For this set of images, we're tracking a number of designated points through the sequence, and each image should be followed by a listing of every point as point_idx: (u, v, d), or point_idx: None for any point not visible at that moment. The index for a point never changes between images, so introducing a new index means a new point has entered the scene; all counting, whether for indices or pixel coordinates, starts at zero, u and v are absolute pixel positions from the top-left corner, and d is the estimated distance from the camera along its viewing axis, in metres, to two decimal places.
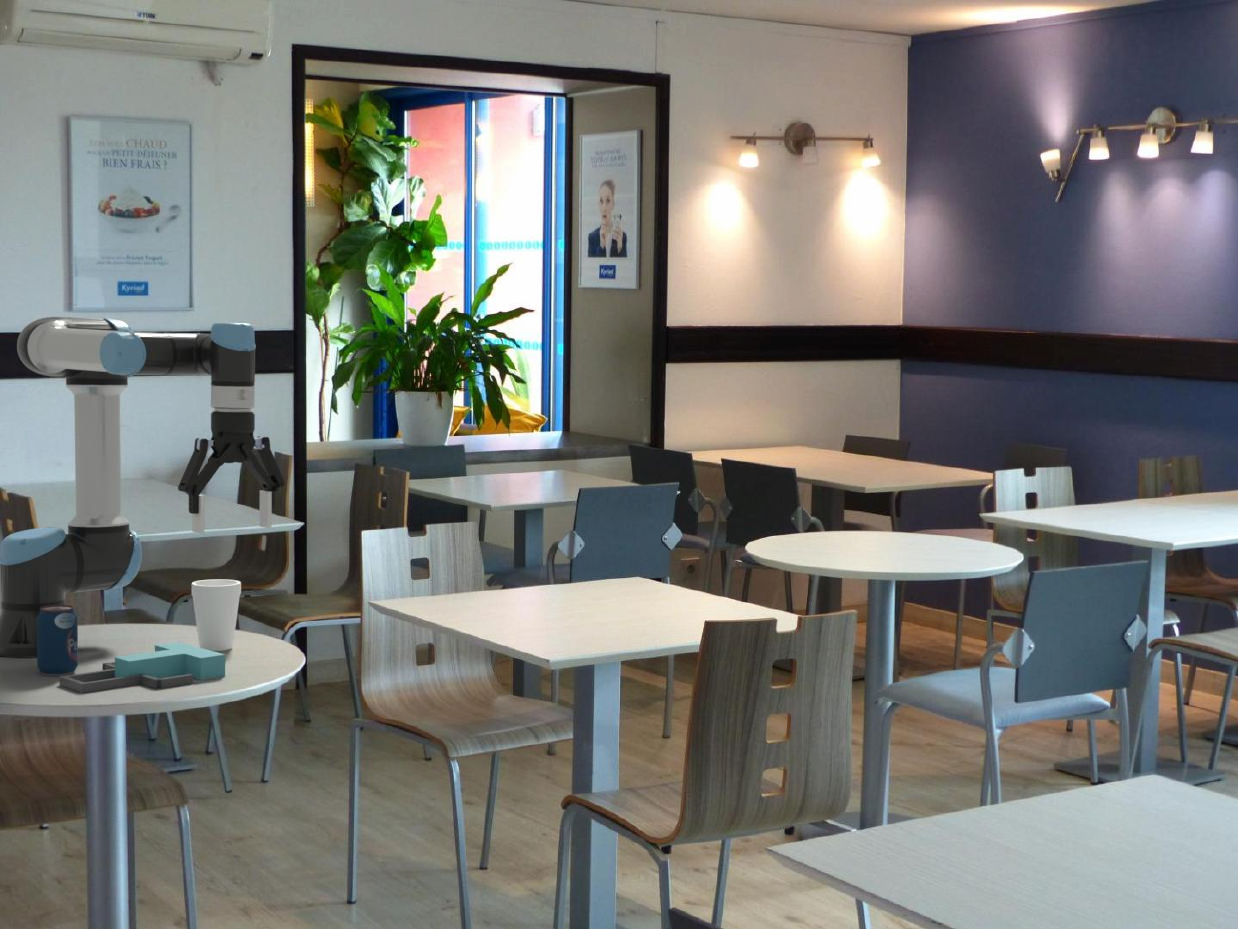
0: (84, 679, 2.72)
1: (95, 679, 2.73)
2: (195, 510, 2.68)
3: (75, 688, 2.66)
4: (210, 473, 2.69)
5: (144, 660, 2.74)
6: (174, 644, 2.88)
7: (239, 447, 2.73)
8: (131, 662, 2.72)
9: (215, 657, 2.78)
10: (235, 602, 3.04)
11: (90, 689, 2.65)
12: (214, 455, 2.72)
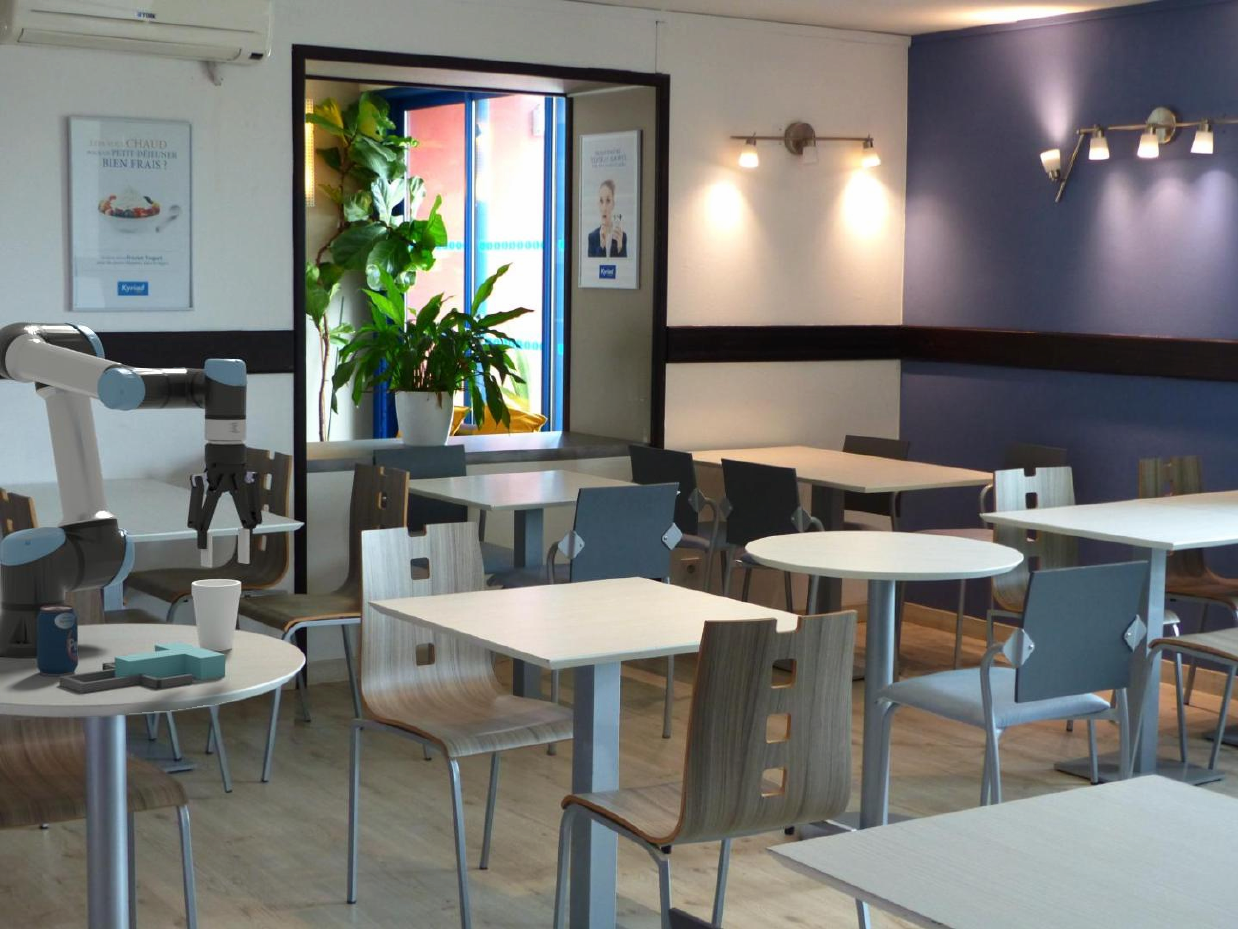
0: (84, 679, 2.72)
1: (95, 679, 2.73)
2: (203, 546, 2.83)
3: (75, 688, 2.66)
4: (212, 507, 2.83)
5: (144, 660, 2.74)
6: (174, 644, 2.88)
7: (232, 476, 2.86)
8: (131, 662, 2.72)
9: (215, 657, 2.78)
10: (235, 602, 3.04)
11: (90, 689, 2.65)
12: (210, 487, 2.86)
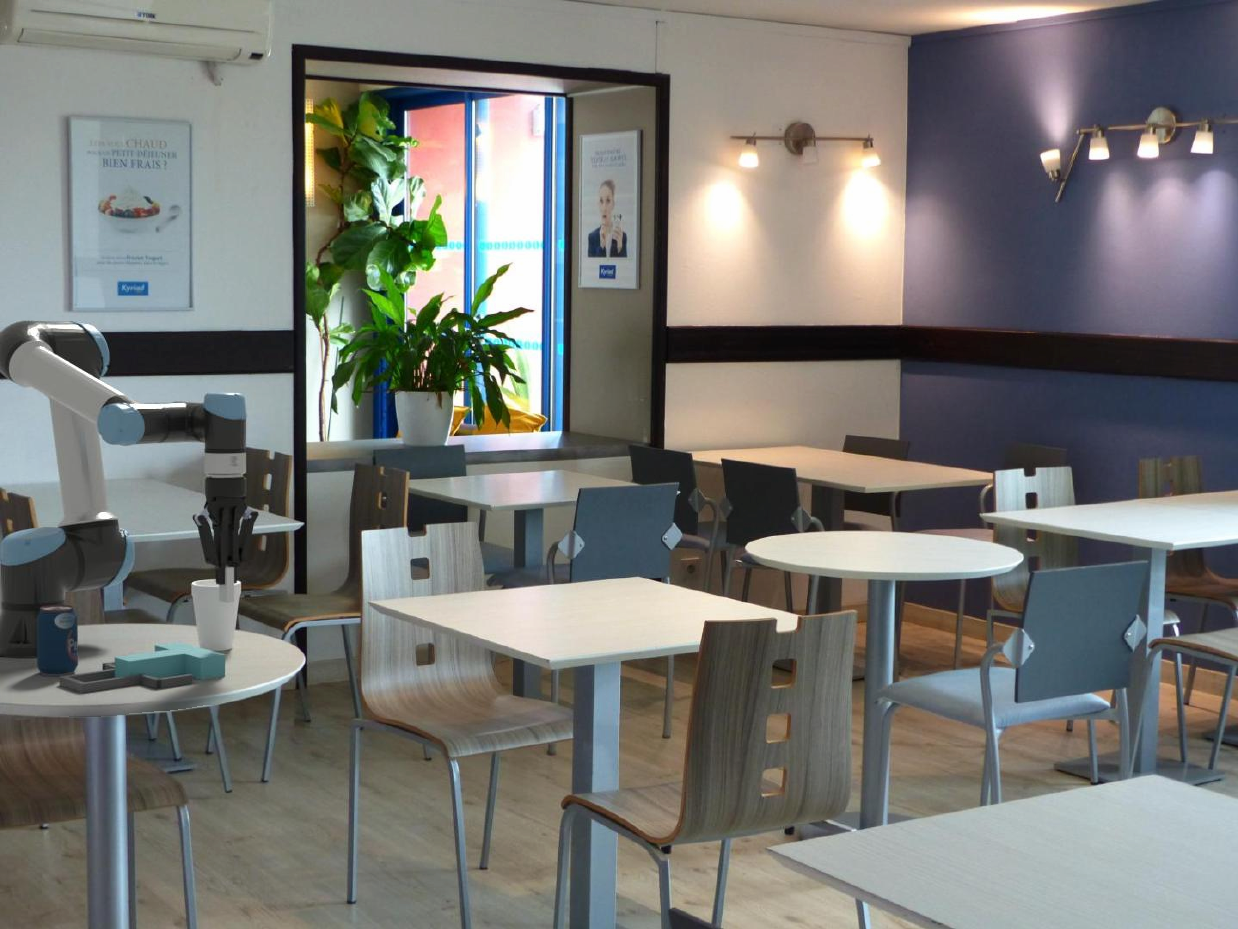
0: (84, 679, 2.72)
1: (95, 679, 2.73)
2: (222, 581, 2.86)
3: (75, 688, 2.66)
4: (223, 543, 2.85)
5: (144, 660, 2.74)
6: (174, 644, 2.88)
7: (232, 509, 2.86)
8: (131, 662, 2.72)
9: (215, 657, 2.78)
10: (235, 602, 3.04)
11: (90, 689, 2.65)
12: None
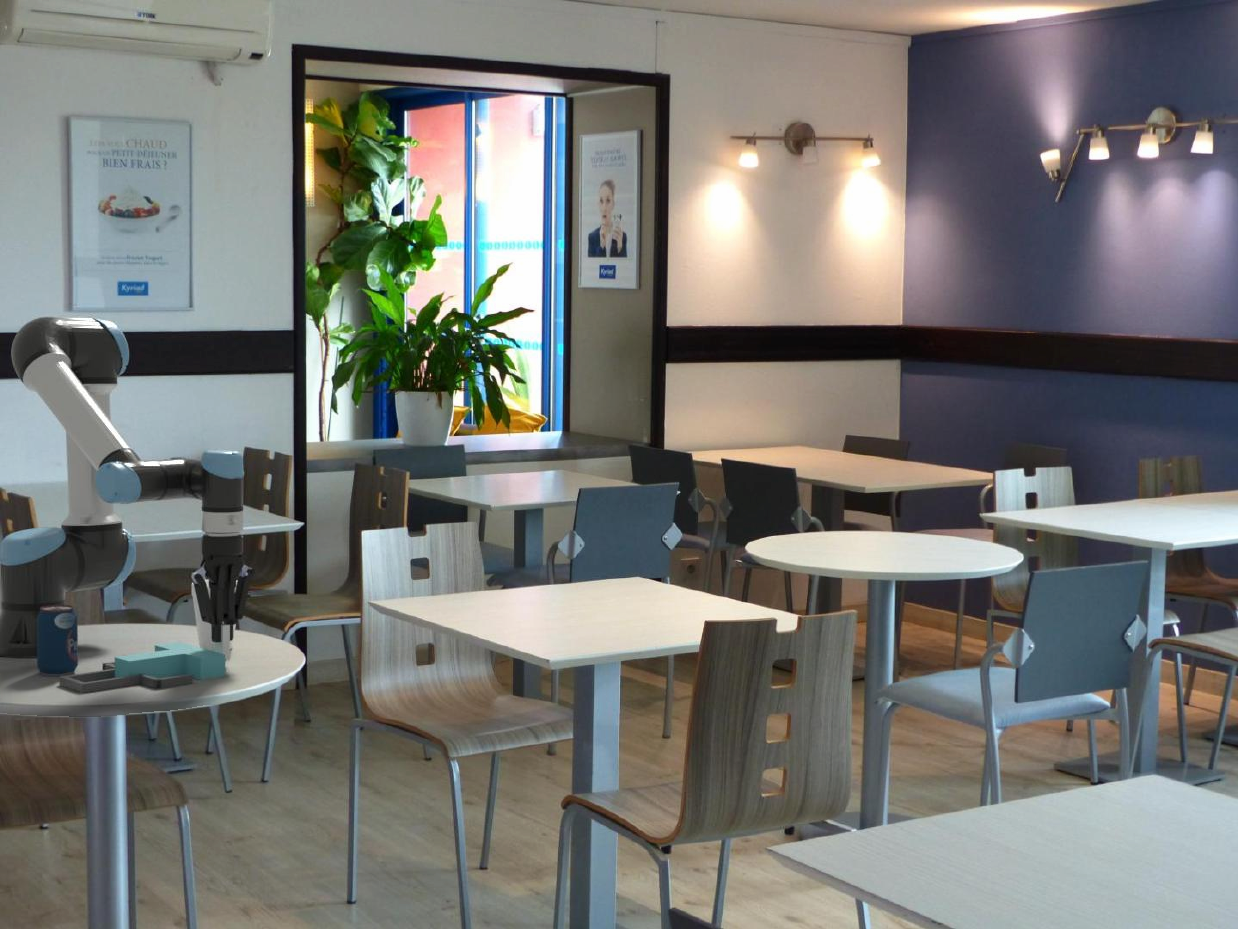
0: (84, 679, 2.72)
1: (95, 679, 2.73)
2: (217, 639, 2.87)
3: (75, 688, 2.66)
4: (219, 601, 2.86)
5: (144, 660, 2.74)
6: (174, 644, 2.88)
7: (229, 567, 2.87)
8: (131, 662, 2.72)
9: (215, 657, 2.78)
10: None
11: (90, 689, 2.65)
12: None
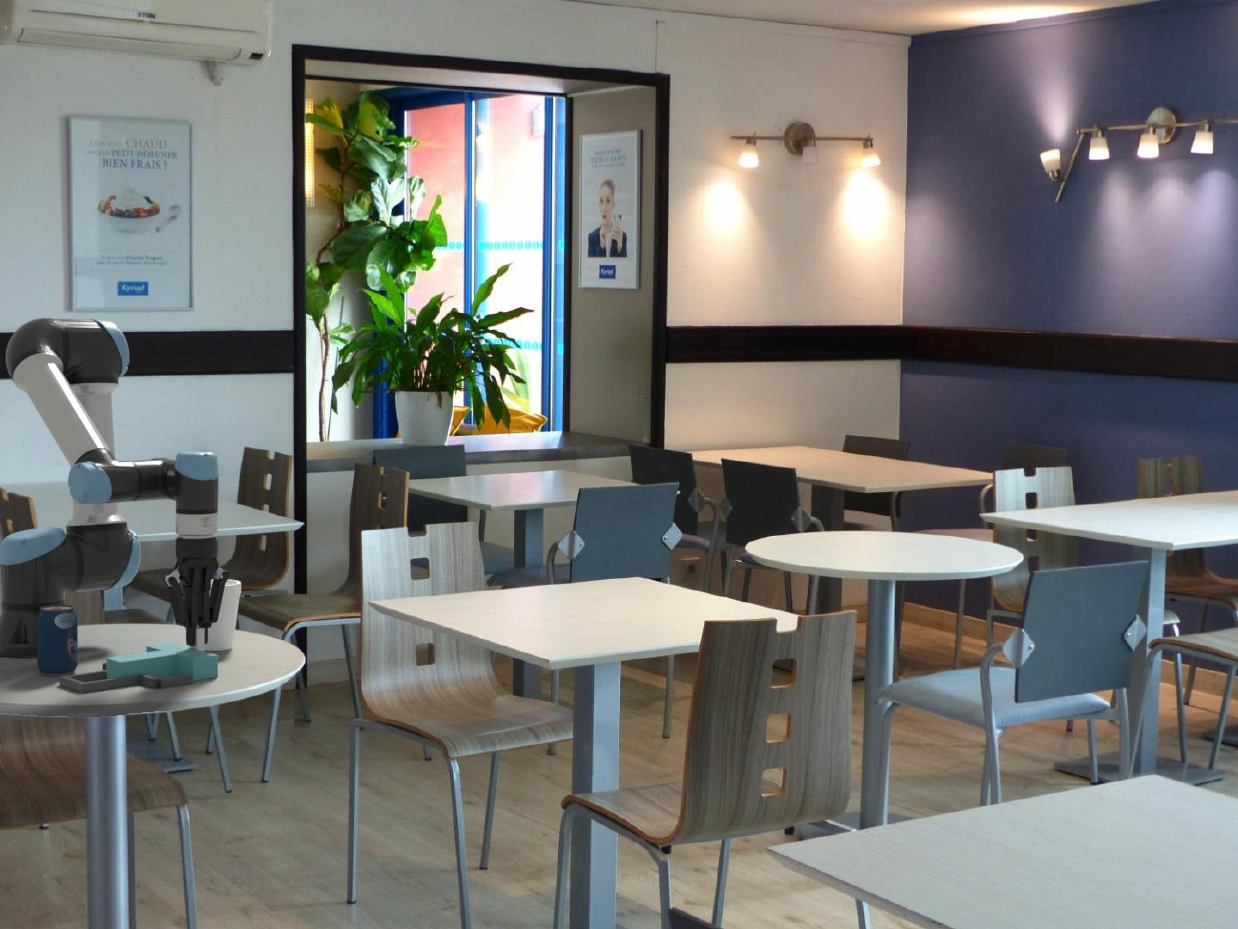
0: (84, 679, 2.72)
1: (95, 679, 2.73)
2: (192, 643, 2.83)
3: (75, 688, 2.66)
4: (194, 604, 2.82)
5: (136, 661, 2.73)
6: (166, 645, 2.87)
7: (203, 569, 2.83)
8: (123, 663, 2.71)
9: (208, 658, 2.77)
10: (235, 602, 3.04)
11: (90, 689, 2.65)
12: None
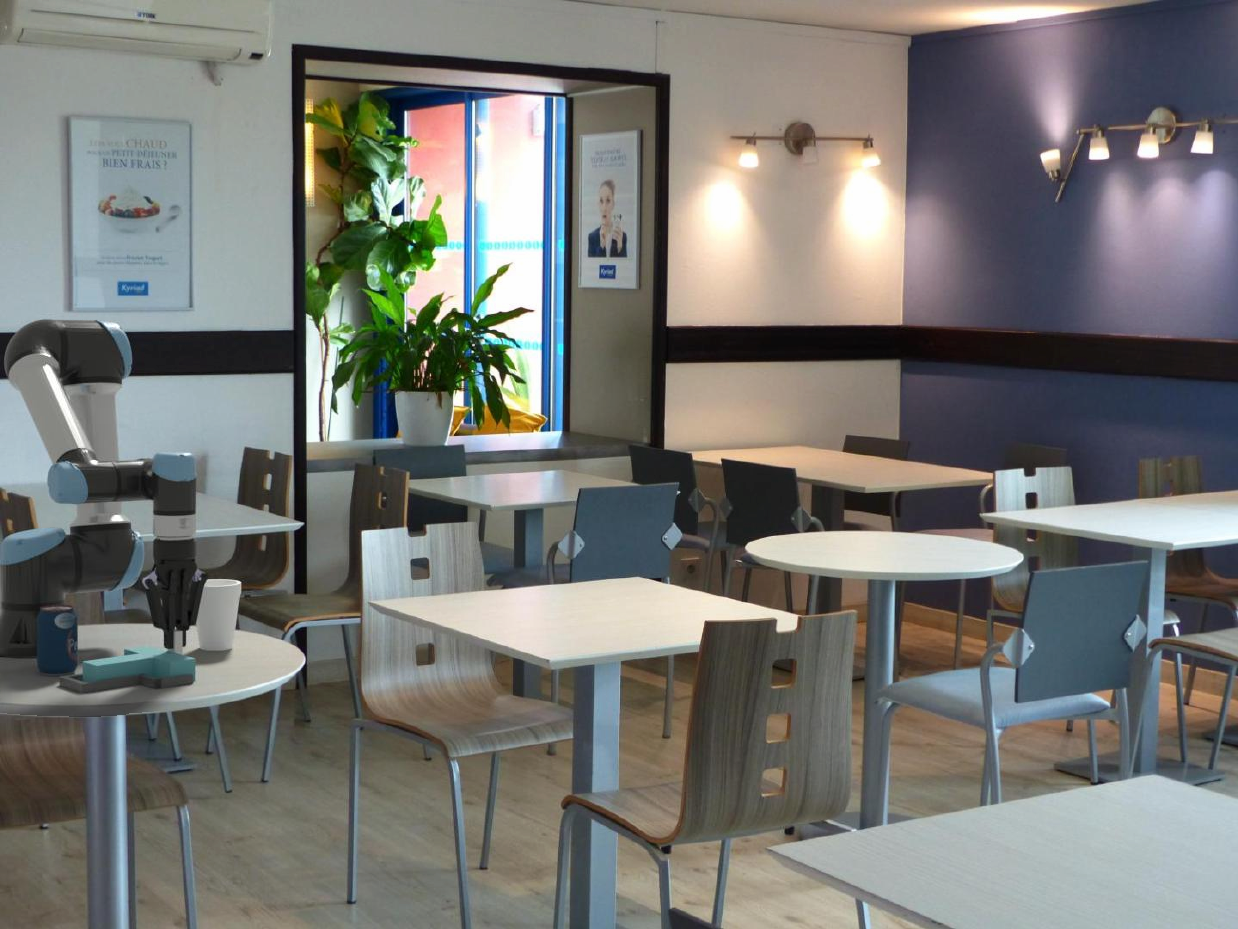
0: None
1: None
2: (170, 645, 2.80)
3: (75, 688, 2.66)
4: (171, 606, 2.79)
5: (112, 664, 2.69)
6: (144, 648, 2.83)
7: (181, 571, 2.80)
8: (99, 666, 2.68)
9: (185, 661, 2.74)
10: (235, 602, 3.04)
11: (90, 689, 2.65)
12: None
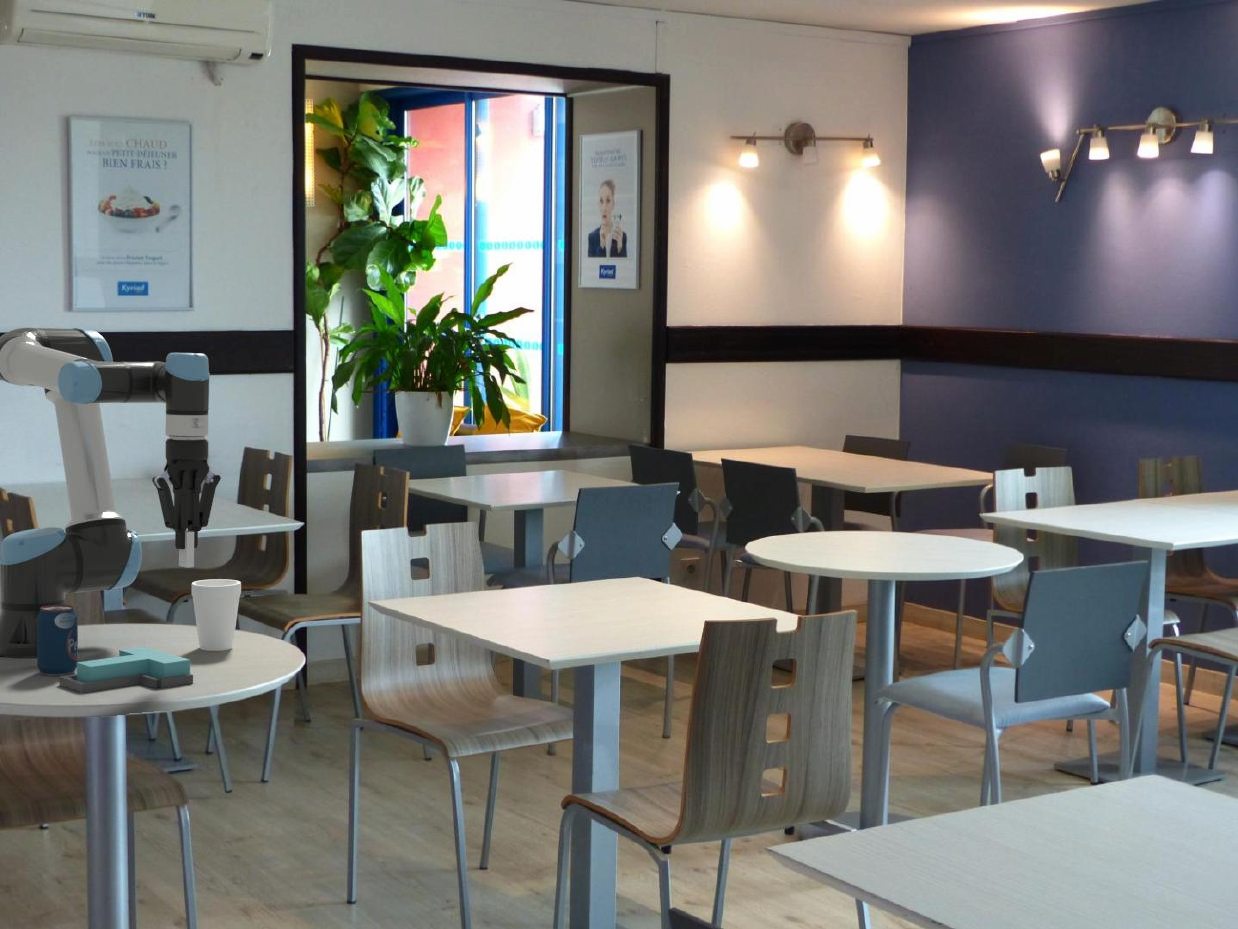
0: None
1: None
2: (181, 546, 2.80)
3: (75, 688, 2.66)
4: (183, 506, 2.79)
5: (107, 665, 2.69)
6: (139, 649, 2.83)
7: (193, 472, 2.80)
8: (93, 668, 2.67)
9: (179, 662, 2.73)
10: (235, 602, 3.04)
11: (90, 689, 2.65)
12: None
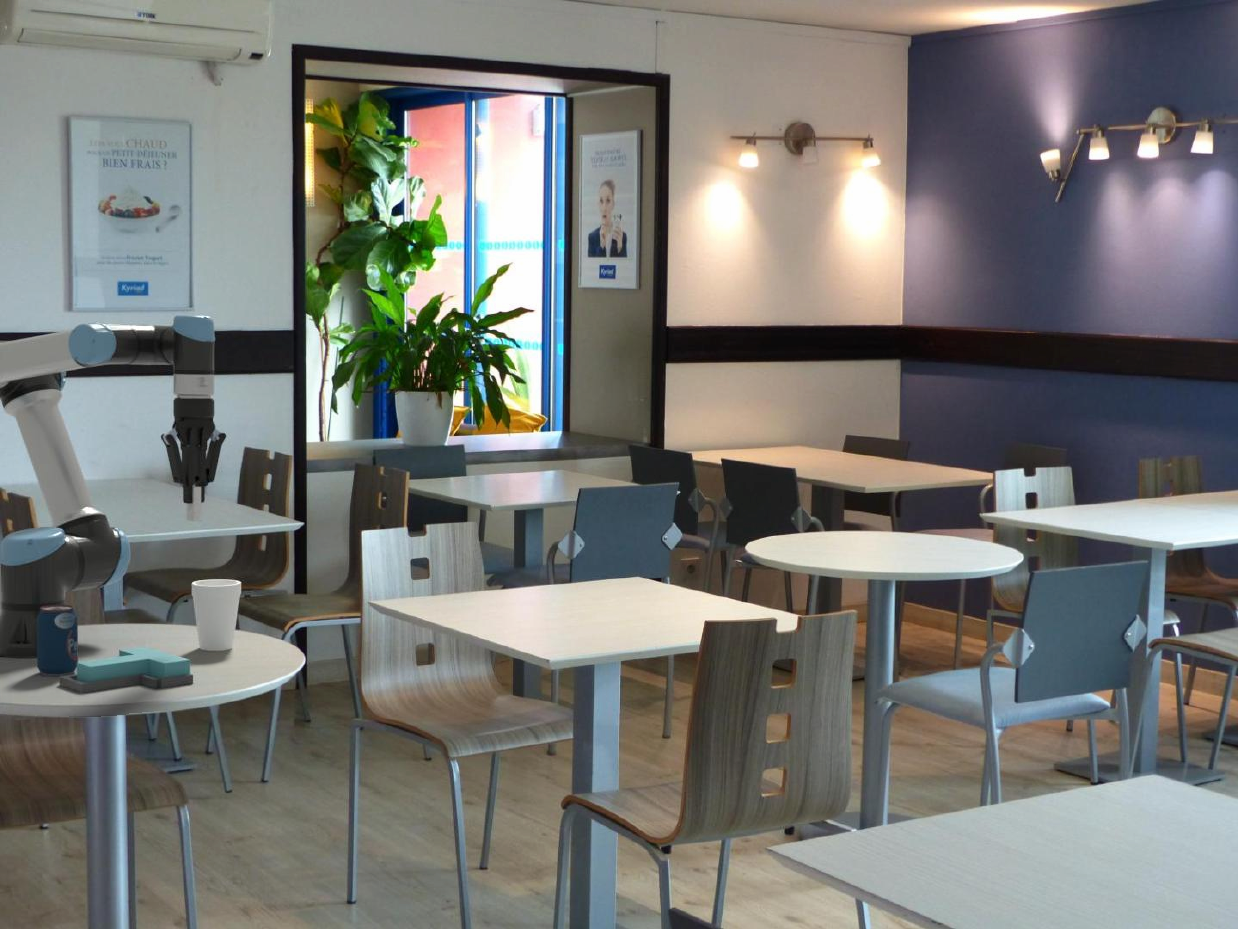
0: None
1: None
2: (189, 500, 2.93)
3: (75, 688, 2.66)
4: (190, 462, 2.92)
5: (107, 665, 2.69)
6: (139, 649, 2.83)
7: (200, 429, 2.93)
8: (93, 668, 2.67)
9: (179, 662, 2.73)
10: (235, 602, 3.04)
11: (90, 689, 2.65)
12: None
